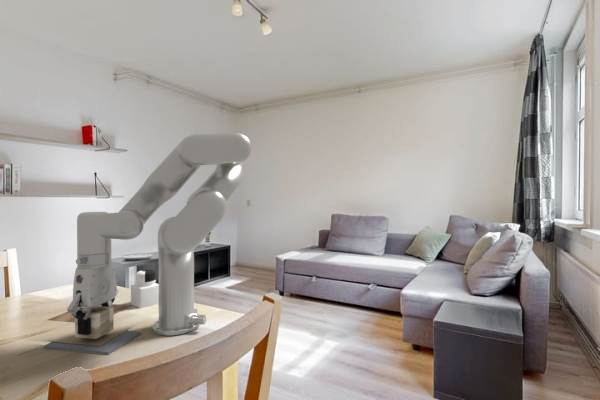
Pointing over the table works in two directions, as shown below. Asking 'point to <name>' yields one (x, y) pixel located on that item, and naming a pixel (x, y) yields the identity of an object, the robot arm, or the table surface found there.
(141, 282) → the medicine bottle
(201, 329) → the table surface
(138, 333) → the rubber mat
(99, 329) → the ring block
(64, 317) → the peg stand
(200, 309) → the table surface
